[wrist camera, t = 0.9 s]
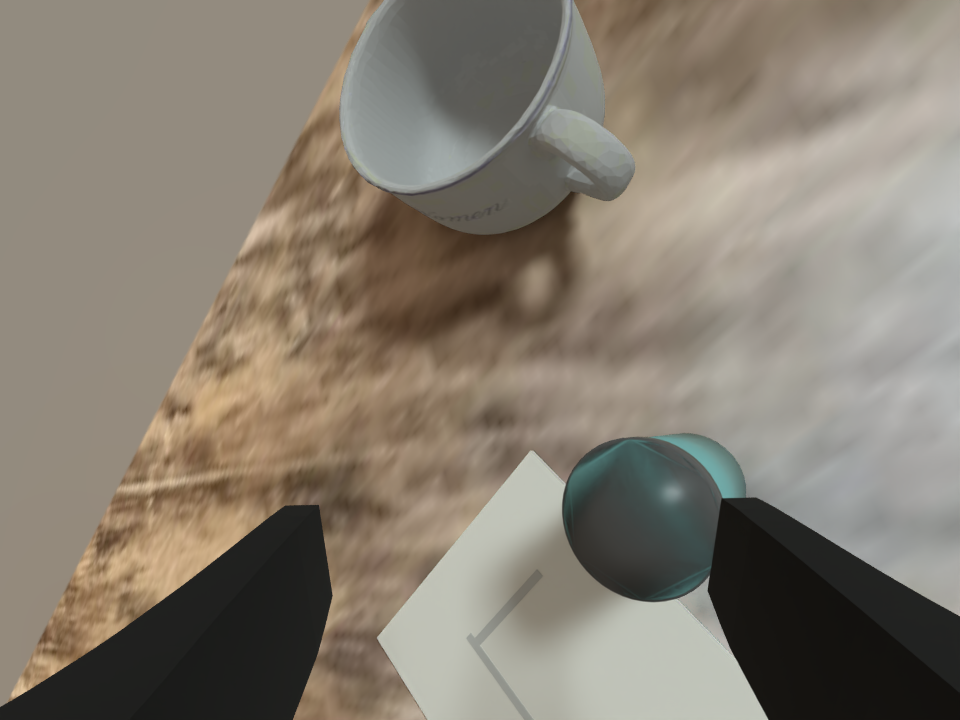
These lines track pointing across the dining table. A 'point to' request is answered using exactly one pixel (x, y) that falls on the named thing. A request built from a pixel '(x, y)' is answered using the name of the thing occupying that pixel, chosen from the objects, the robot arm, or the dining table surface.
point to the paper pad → (551, 630)
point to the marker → (649, 512)
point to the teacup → (480, 111)
